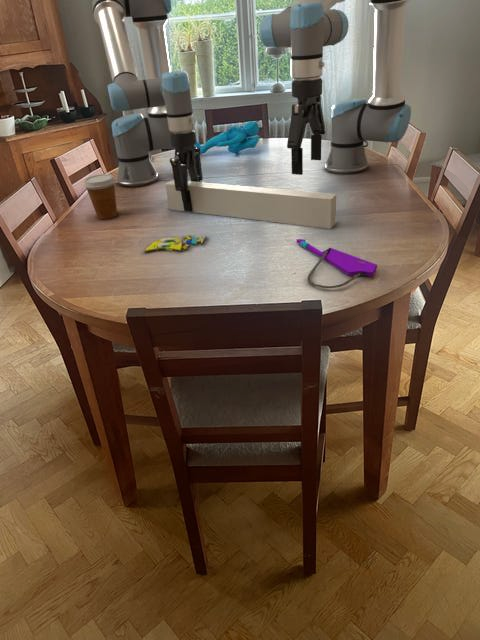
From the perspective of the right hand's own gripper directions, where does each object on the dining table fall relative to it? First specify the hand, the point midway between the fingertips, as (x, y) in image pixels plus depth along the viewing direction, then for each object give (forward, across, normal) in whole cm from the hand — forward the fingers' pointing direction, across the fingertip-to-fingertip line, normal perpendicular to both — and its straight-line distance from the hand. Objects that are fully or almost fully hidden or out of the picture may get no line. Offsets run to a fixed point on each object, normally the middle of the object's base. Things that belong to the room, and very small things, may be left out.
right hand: (307, 166), depth 128 cm
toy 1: (+16, -25, +28) cm, 41 cm away
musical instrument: (+16, -24, -14) cm, 32 cm away
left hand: (+15, 0, +39) cm, 42 cm away
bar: (+16, 0, +19) cm, 25 cm away
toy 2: (+16, +64, +62) cm, 91 cm away
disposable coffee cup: (+16, -13, +63) cm, 66 cm away
